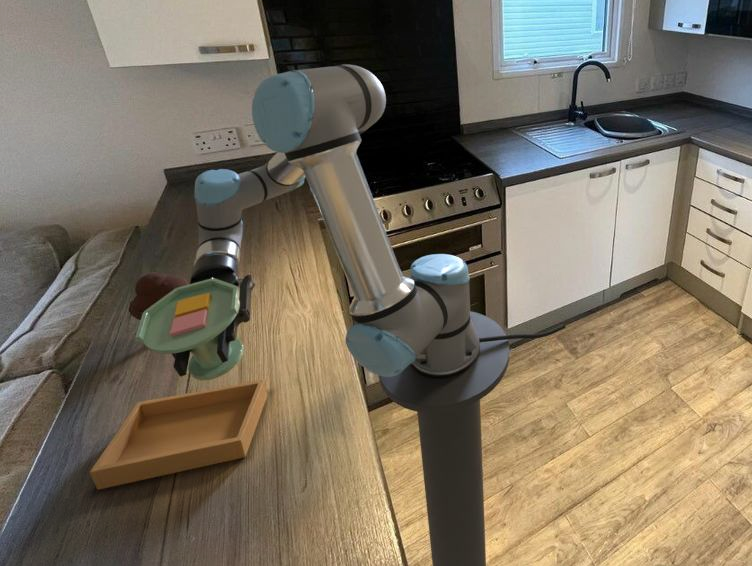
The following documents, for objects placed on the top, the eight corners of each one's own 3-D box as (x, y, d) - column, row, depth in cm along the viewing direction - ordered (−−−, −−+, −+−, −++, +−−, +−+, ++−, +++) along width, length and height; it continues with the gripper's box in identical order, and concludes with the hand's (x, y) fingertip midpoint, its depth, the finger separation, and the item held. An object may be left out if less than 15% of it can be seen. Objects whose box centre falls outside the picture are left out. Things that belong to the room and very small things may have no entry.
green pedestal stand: (260, 318, 85) (238, 271, 78) (258, 375, 75) (233, 326, 68) (179, 343, 80) (148, 295, 73) (165, 408, 70) (128, 359, 63)
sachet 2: (208, 312, 72) (206, 308, 71) (205, 326, 70) (203, 323, 69) (175, 321, 70) (173, 318, 70) (171, 337, 68) (169, 333, 67)
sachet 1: (210, 295, 75) (208, 292, 74) (208, 309, 72) (206, 306, 72) (179, 304, 73) (177, 301, 73) (176, 318, 71) (174, 315, 70)
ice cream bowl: (139, 358, 90) (117, 297, 85) (144, 328, 98) (124, 270, 93) (203, 337, 96) (185, 279, 91) (202, 310, 104) (187, 255, 99)
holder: (268, 394, 82) (264, 379, 81) (245, 457, 71) (240, 440, 70) (143, 418, 77) (137, 402, 76) (97, 490, 66) (89, 472, 64)
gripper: (272, 267, 93) (271, 356, 76) (169, 295, 86) (141, 400, 69) (262, 241, 89) (258, 328, 72) (152, 268, 82) (119, 372, 65)
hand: (201, 363), depth 70 cm, fingers closed on green pedestal stand, 5 cm apart
